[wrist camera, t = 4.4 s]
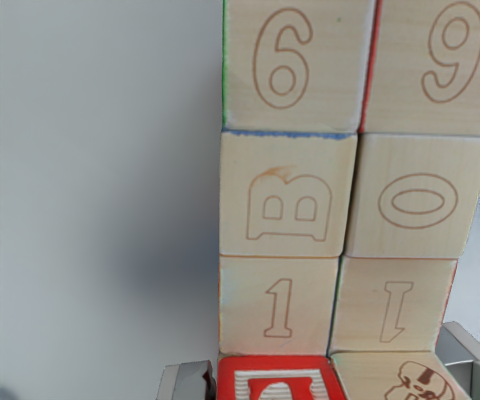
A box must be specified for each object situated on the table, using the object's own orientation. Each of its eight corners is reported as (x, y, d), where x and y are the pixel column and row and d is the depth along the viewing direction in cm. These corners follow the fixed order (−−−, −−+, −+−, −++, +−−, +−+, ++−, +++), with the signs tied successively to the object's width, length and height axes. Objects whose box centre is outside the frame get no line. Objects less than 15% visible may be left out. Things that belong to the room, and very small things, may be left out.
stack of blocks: (227, 48, 15) (215, -212, 3) (357, 54, 15) (859, -162, 3) (219, 398, 21) (205, 785, 9) (311, 398, 21) (417, 774, 9)
